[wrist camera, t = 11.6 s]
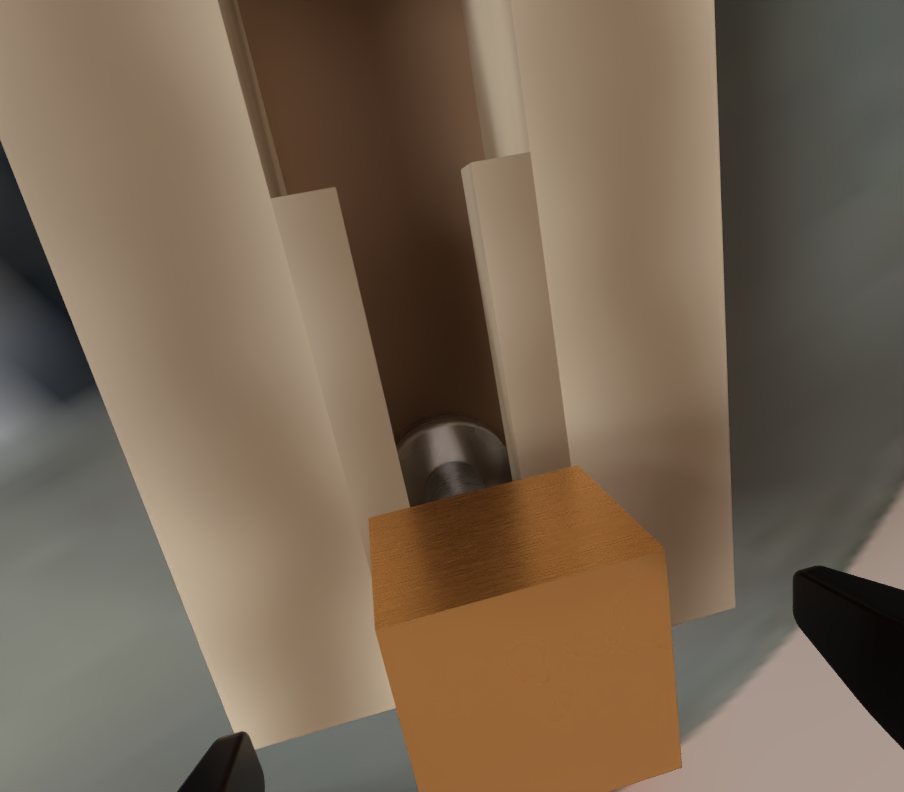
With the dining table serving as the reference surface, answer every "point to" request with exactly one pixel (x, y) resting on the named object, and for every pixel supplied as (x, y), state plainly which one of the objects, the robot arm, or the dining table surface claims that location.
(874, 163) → the dining table surface
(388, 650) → the peg
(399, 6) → the keyhole track
